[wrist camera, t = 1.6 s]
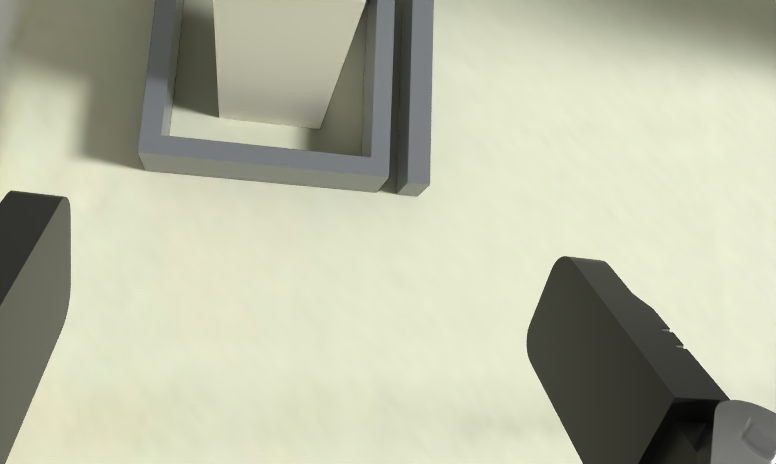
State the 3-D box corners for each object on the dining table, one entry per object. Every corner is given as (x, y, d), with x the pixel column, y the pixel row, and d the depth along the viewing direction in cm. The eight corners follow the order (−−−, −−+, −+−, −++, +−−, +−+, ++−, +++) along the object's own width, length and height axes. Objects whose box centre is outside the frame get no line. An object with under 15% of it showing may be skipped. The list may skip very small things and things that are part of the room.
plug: (227, 25, 30) (225, -183, 19) (325, 39, 31) (378, -151, 20) (219, 117, 29) (210, -43, 18) (319, 129, 30) (372, -17, 19)
